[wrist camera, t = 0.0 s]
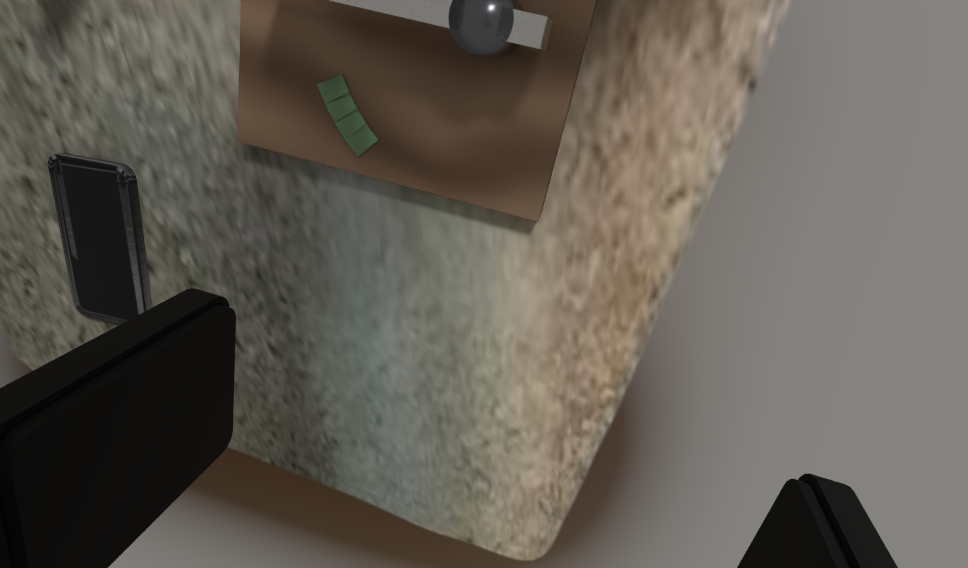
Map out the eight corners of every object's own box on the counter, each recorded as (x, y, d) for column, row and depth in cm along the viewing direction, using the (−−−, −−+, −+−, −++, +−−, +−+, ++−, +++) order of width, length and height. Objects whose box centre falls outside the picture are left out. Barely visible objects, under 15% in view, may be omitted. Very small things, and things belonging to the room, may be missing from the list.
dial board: (261, -204, 34) (244, -217, 32) (632, -134, 31) (633, -145, 30) (249, 139, 42) (235, 141, 41) (540, 216, 40) (537, 222, 38)
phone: (127, 167, 44) (148, 331, 50) (138, 165, 45) (157, 325, 51) (44, 152, 46) (74, 313, 51) (56, 150, 47) (84, 308, 52)
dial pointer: (559, 4, 33) (552, -5, 28) (544, 68, 34) (535, 68, 30) (289, -56, 35) (245, -72, 30) (285, 7, 36) (243, 0, 32)
